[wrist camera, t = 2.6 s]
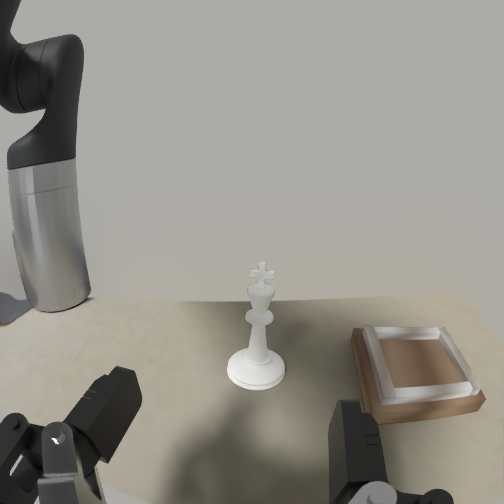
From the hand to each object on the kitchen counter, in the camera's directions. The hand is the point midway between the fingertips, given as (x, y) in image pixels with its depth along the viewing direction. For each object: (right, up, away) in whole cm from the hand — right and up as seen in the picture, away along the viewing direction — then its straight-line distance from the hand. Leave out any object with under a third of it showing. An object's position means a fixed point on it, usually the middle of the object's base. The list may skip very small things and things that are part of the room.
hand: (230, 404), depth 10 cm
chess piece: (+1, -5, +14) cm, 14 cm away
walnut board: (+16, -6, +12) cm, 20 cm away
